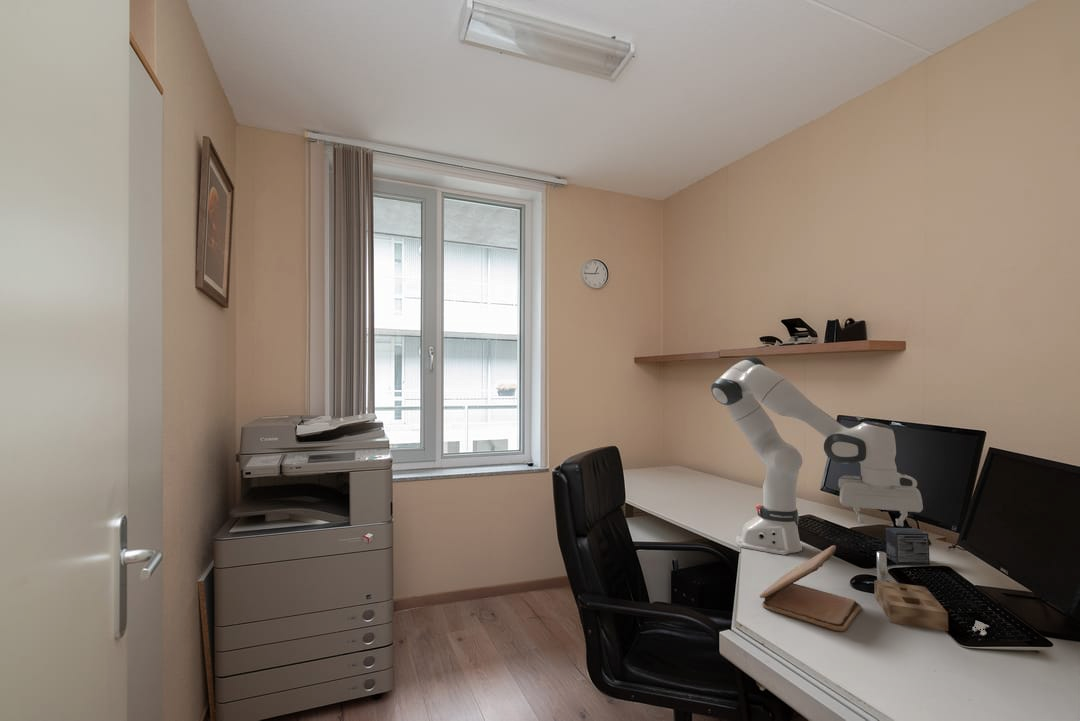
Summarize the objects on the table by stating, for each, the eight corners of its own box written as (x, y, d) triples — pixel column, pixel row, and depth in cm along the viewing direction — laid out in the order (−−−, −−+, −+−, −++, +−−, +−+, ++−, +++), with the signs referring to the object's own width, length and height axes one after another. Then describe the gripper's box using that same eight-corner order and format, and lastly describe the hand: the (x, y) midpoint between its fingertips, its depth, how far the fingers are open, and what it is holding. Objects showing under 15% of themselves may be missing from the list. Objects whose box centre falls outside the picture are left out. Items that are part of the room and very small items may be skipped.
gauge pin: (878, 591, 143) (877, 553, 144) (876, 588, 145) (875, 550, 146) (888, 592, 142) (887, 554, 143) (886, 589, 145) (885, 551, 145)
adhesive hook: (971, 632, 121) (971, 619, 121) (977, 630, 122) (976, 617, 122) (986, 638, 118) (986, 625, 119) (992, 636, 119) (992, 623, 120)
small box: (917, 557, 169) (917, 527, 169) (931, 565, 163) (930, 533, 163) (885, 557, 170) (884, 526, 170) (897, 564, 164) (896, 532, 164)
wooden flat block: (890, 622, 126) (889, 604, 126) (874, 595, 140) (874, 580, 141) (948, 631, 121) (947, 612, 121) (925, 603, 136) (925, 586, 136)
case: (783, 584, 149) (781, 531, 149) (864, 607, 134) (862, 548, 134) (756, 608, 135) (754, 549, 135) (843, 636, 120) (841, 570, 120)
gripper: (839, 476, 146) (841, 523, 146) (923, 481, 138) (925, 531, 138) (836, 472, 152) (837, 517, 151) (916, 477, 144) (918, 524, 143)
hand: (880, 524), depth 144 cm, fingers open, 8 cm apart
